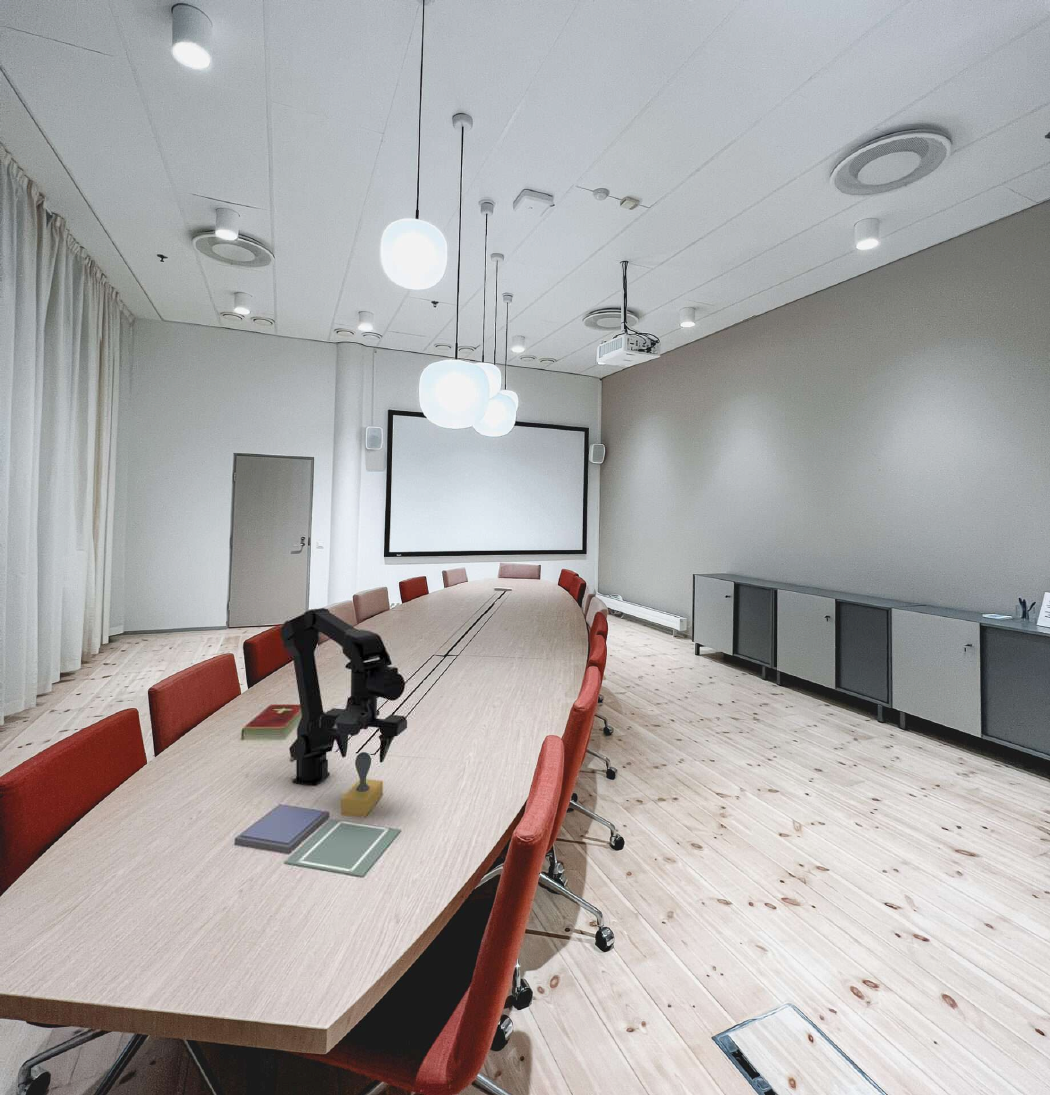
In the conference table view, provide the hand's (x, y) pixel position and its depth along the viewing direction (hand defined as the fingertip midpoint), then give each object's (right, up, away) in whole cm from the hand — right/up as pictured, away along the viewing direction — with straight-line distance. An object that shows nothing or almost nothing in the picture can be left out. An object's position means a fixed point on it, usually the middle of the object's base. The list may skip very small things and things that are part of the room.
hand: (362, 759), depth 130 cm
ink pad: (-13, -10, -11) cm, 20 cm away
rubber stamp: (0, -11, 0) cm, 11 cm away
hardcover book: (-39, -8, +46) cm, 61 cm away
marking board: (+1, -11, -16) cm, 20 cm away
